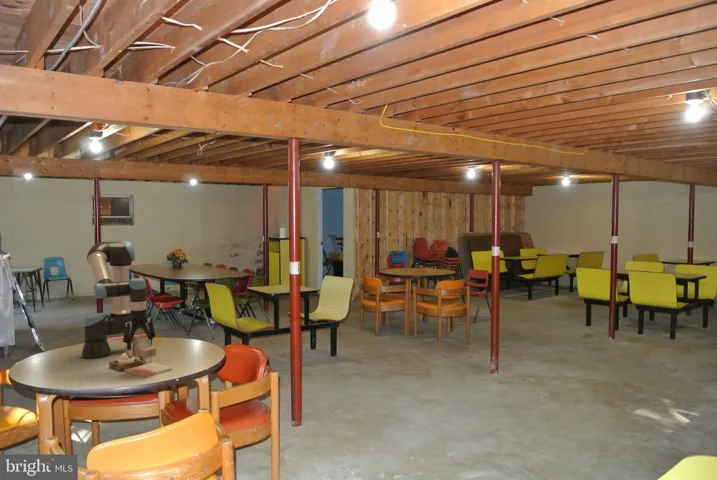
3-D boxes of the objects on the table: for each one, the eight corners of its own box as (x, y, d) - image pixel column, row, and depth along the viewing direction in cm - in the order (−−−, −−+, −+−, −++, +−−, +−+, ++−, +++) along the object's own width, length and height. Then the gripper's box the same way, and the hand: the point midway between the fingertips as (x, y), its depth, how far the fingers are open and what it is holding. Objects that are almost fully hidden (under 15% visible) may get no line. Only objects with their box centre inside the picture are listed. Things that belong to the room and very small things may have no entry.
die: (139, 362, 292) (139, 353, 292) (145, 360, 296) (145, 351, 296) (145, 363, 290) (145, 354, 290) (151, 361, 294) (151, 352, 294)
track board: (124, 371, 276) (124, 369, 276) (153, 364, 289) (153, 362, 289) (142, 377, 266) (142, 375, 266) (171, 369, 278) (171, 368, 278)
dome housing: (109, 367, 284) (109, 362, 283) (131, 362, 293) (130, 356, 293) (121, 371, 276) (121, 365, 276) (143, 366, 286) (143, 360, 286)
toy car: (143, 361, 265) (142, 341, 264) (123, 357, 272) (122, 337, 272) (159, 356, 273) (158, 337, 272) (138, 353, 280) (138, 334, 280)
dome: (115, 365, 284) (114, 353, 284) (129, 362, 290) (129, 350, 290) (122, 368, 279) (122, 355, 279) (137, 364, 285) (137, 352, 285)
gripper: (121, 313, 261) (123, 359, 262) (162, 306, 278) (163, 350, 279) (113, 311, 266) (115, 357, 267) (154, 305, 283) (155, 348, 284)
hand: (140, 353), depth 273 cm, fingers closed on toy car, 9 cm apart
